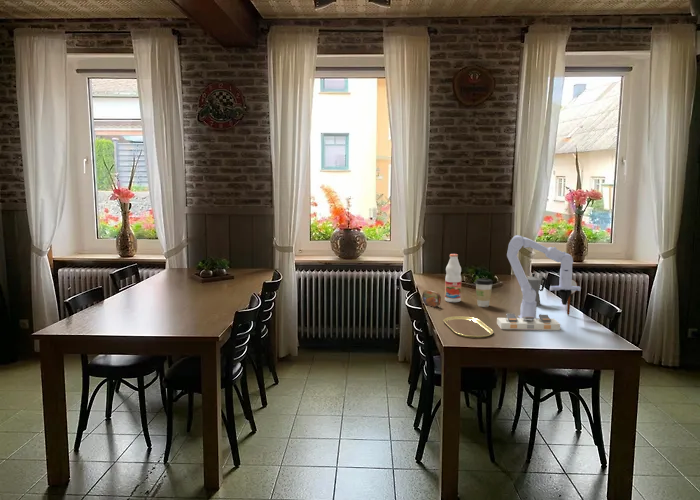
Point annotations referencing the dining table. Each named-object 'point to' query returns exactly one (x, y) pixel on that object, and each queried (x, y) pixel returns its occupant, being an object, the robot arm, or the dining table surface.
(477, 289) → the coffee cup
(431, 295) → the tin
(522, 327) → the switch panel
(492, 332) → the serving platter
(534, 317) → the robot arm
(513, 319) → the rocker
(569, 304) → the magnifying glass
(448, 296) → the fruit juice
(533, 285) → the coffeepot
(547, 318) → the rocker
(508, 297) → the dining table surface
